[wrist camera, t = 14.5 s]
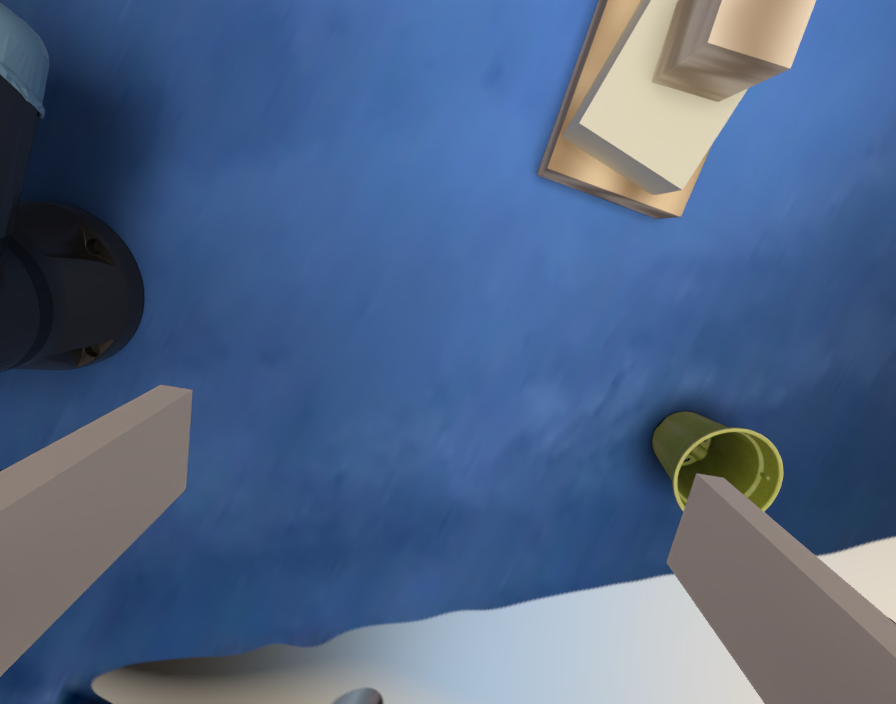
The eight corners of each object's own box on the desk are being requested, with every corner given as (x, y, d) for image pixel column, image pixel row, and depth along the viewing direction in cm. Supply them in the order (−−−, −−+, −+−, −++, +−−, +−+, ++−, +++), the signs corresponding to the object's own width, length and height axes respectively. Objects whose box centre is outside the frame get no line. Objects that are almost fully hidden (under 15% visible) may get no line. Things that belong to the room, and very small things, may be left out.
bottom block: (535, 175, 44) (547, 168, 39) (612, -41, 40) (636, -80, 35) (654, 218, 45) (680, 216, 40) (741, 11, 41) (781, -18, 36)
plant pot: (639, 487, 51) (678, 537, 43) (630, 404, 49) (670, 440, 40) (727, 471, 51) (784, 518, 42) (722, 387, 49) (782, 419, 40)
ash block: (651, 81, 33) (707, 42, 26) (677, 1, 32) (742, -61, 25) (718, 102, 34) (790, 68, 27) (746, 23, 33) (828, -32, 26)
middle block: (561, 137, 39) (579, 122, 34) (671, -52, 36) (707, -97, 31) (652, 195, 40) (682, 190, 35) (766, 17, 37) (815, -16, 32)
